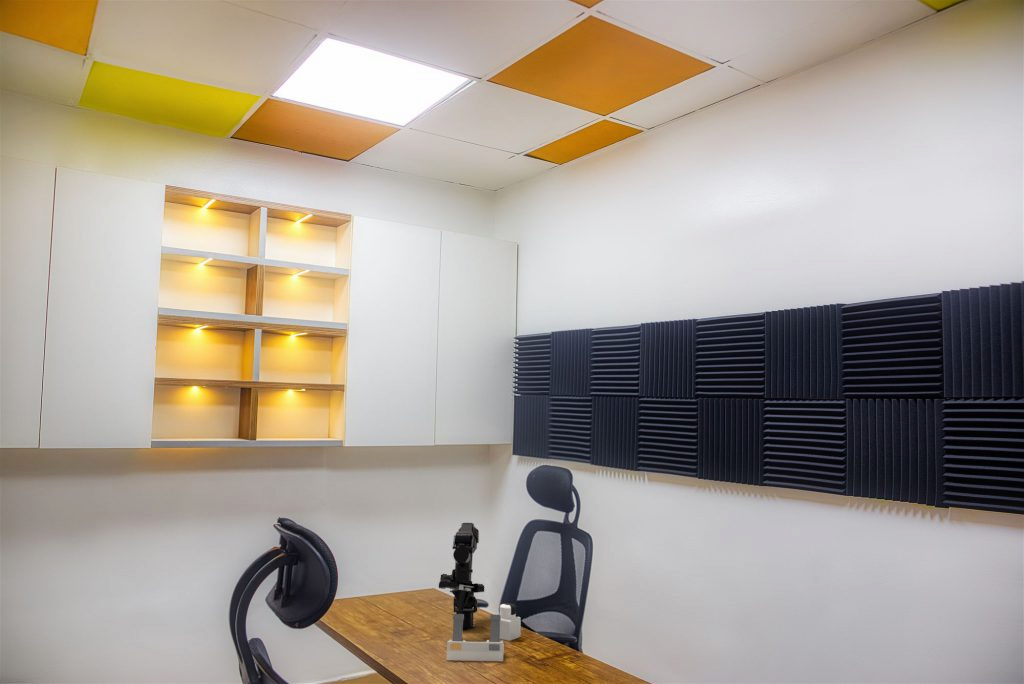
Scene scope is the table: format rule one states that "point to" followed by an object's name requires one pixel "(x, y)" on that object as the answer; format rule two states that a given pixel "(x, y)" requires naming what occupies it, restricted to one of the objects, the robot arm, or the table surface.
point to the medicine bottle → (509, 622)
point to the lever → (495, 628)
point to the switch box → (475, 651)
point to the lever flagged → (458, 627)
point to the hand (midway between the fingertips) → (460, 611)
